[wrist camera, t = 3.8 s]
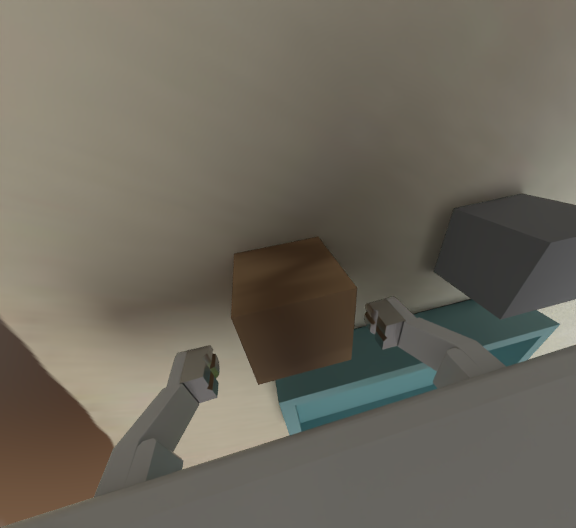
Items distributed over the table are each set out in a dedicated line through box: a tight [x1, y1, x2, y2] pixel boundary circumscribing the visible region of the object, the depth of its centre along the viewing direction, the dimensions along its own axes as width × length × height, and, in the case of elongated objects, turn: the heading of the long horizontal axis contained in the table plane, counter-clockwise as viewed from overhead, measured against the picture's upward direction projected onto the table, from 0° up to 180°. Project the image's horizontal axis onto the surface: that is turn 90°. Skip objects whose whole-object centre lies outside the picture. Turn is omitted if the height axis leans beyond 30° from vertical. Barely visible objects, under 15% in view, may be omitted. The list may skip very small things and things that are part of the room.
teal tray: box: [276, 299, 560, 435], centre depth 20 cm, size 22×14×4 cm, turn 98°
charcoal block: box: [433, 194, 576, 320], centre depth 13 cm, size 5×5×5 cm
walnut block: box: [231, 237, 357, 385], centre depth 11 cm, size 5×5×5 cm
